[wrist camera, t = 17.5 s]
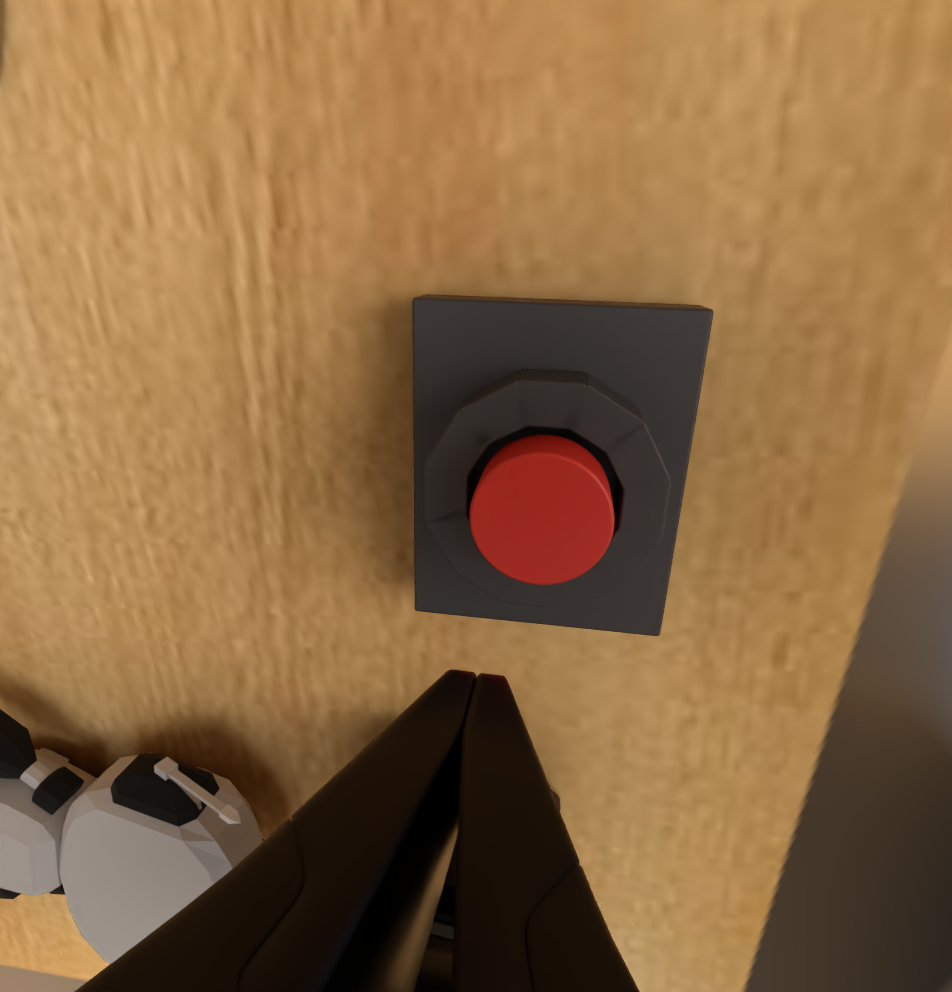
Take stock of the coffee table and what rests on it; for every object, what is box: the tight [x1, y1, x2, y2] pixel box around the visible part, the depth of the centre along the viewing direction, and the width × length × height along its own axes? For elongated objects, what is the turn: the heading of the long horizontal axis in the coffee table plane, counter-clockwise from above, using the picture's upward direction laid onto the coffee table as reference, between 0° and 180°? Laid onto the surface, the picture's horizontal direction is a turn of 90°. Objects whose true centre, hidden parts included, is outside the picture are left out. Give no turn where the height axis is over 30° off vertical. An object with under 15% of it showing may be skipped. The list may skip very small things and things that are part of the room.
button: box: [470, 435, 615, 585], centre depth 16 cm, size 4×4×2 cm
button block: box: [412, 294, 713, 636], centre depth 18 cm, size 10×8×4 cm
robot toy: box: [0, 709, 263, 963], centre depth 26 cm, size 12×4×15 cm
